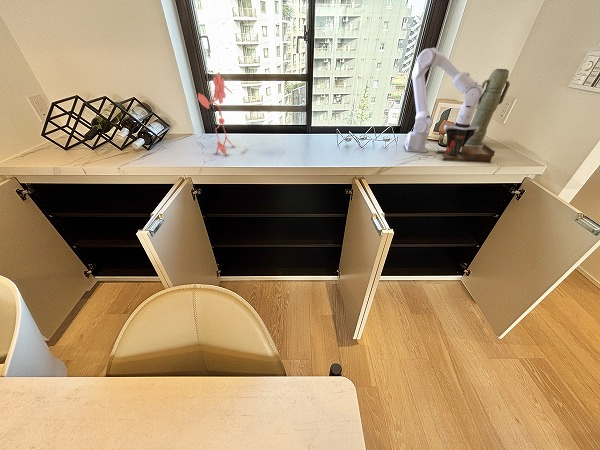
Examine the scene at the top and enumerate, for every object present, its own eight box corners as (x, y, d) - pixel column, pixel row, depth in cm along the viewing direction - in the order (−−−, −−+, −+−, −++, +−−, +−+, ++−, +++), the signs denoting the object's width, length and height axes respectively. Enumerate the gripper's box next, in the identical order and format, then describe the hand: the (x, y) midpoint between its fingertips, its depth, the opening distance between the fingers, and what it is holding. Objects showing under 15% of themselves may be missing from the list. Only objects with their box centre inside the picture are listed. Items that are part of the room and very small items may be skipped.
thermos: (487, 145, 139) (520, 70, 118) (464, 145, 139) (494, 70, 118) (479, 140, 146) (509, 68, 125) (457, 139, 146) (484, 68, 125)
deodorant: (459, 157, 123) (472, 124, 114) (446, 156, 124) (458, 124, 115) (456, 152, 128) (468, 121, 119) (443, 151, 129) (454, 120, 119)
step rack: (443, 160, 123) (447, 149, 120) (437, 152, 131) (440, 141, 128) (490, 162, 120) (496, 151, 117) (481, 154, 129) (486, 143, 125)
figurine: (207, 160, 123) (188, 76, 102) (227, 142, 143) (214, 69, 122) (238, 162, 121) (225, 77, 100) (253, 143, 142) (245, 69, 121)
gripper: (451, 117, 113) (441, 147, 121) (486, 118, 111) (473, 149, 119) (446, 113, 118) (436, 142, 126) (480, 114, 117) (468, 144, 125)
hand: (454, 145), depth 123 cm, fingers closed on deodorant, 6 cm apart
